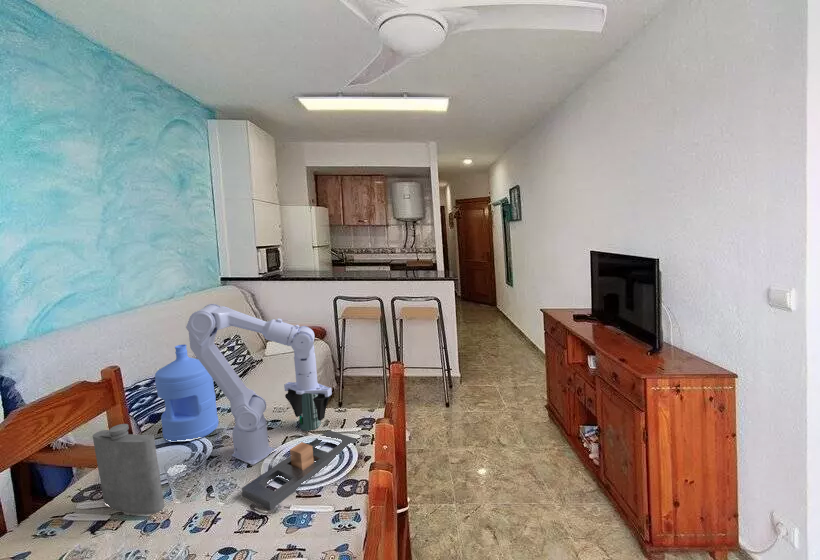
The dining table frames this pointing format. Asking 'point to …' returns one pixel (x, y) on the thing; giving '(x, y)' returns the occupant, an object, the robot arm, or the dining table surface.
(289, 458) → the grey flat perforated plate
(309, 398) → the can
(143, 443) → the hip flask
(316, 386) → the robot arm
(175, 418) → the water jug
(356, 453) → the dining table surface
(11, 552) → the dining table surface
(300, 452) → the square block
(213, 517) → the dining table surface
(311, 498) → the dining table surface
